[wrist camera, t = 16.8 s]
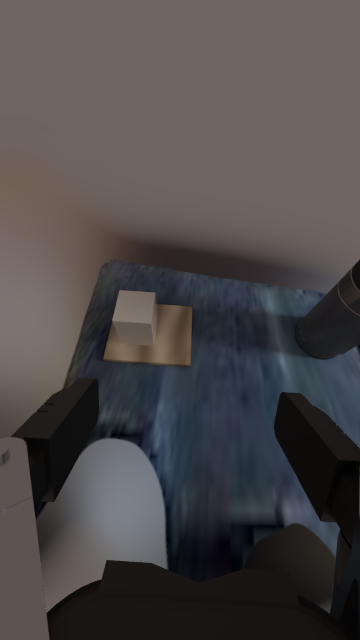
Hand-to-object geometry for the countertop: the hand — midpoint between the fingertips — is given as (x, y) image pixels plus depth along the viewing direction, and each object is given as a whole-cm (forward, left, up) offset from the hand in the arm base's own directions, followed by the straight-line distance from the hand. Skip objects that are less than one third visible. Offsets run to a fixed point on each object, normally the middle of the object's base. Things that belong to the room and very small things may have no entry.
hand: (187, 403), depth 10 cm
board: (+6, -19, -31) cm, 37 cm away
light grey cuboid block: (+8, -19, -30) cm, 36 cm away
